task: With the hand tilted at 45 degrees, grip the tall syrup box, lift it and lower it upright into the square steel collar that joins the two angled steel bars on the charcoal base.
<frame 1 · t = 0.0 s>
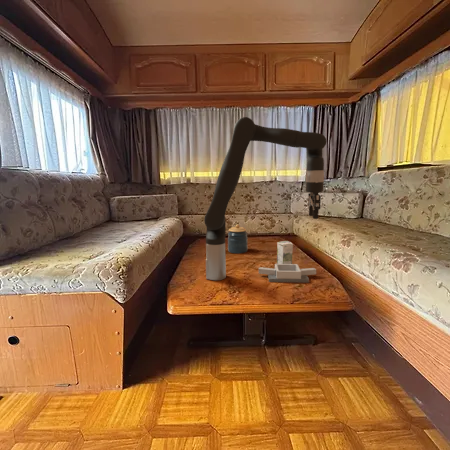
hand: (313, 217, 127), 29 cm above the table, tool pointing down, fingers open, 8 cm apart
syrup box: (284, 269, 146), on the table
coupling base: (287, 277, 134), on the table
canister: (237, 251, 182), on the table
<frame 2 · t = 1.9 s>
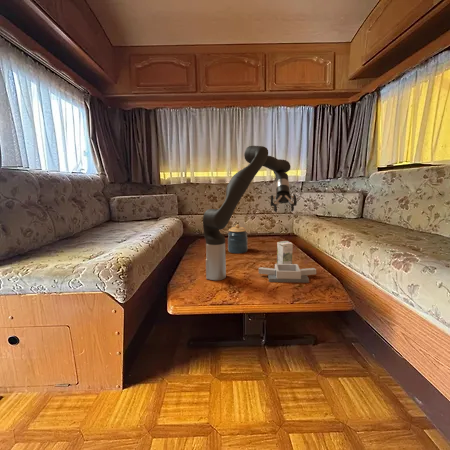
hand: (284, 211, 153), 29 cm above the table, tool tilted 45°, fingers open, 8 cm apart
nothing on the table moved.
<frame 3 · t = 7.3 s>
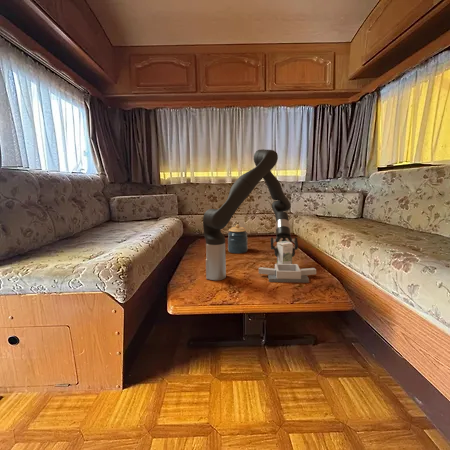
hand: (285, 256, 143), 8 cm above the table, tool tilted 45°, fingers closed on syrup box, 7 cm apart
syrup box: (284, 269, 146), on the table, touching gripper
everything else where it was.
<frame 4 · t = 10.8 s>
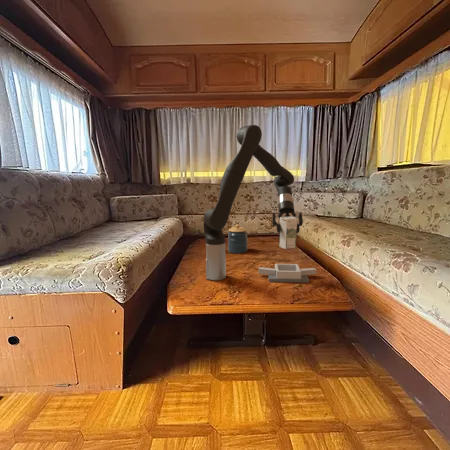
hand: (288, 232, 129), 22 cm above the table, tool tilted 45°, fingers closed on syrup box, 7 cm apart
syrup box: (287, 248, 132), point 14 cm above the table, touching gripper
everything else where it was.
when the fingers open (10 cm above the table, at t = 14.7 s): syrup box drops 1 cm, resting on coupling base.
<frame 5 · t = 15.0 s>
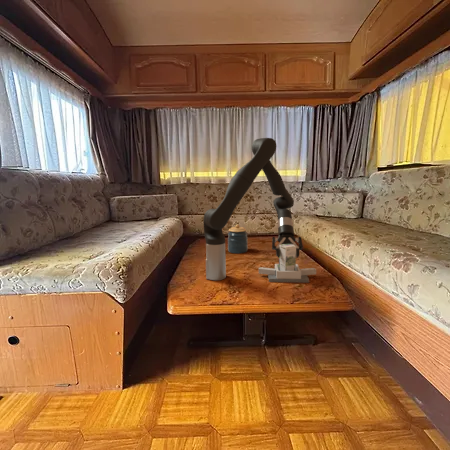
hand: (288, 256, 131), 11 cm above the table, tool tilted 45°, fingers open, 8 cm apart
syrup box: (286, 274, 134), point 1 cm above the table, touching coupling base
everything else where it was.
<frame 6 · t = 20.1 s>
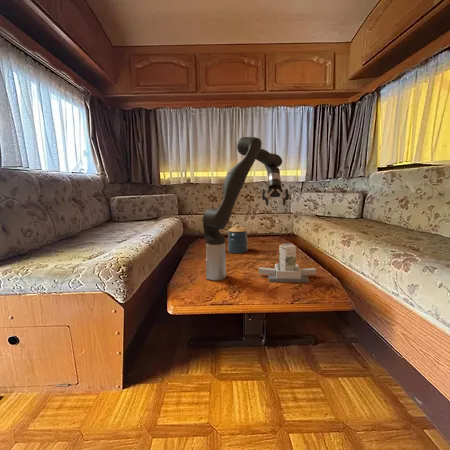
hand: (275, 204, 150), 33 cm above the table, tool tilted 45°, fingers open, 8 cm apart
nothing on the table moved.
at the end: syrup box 0.2 cm off-centre on the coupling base, point 1.3 cm above the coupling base's base; syrup box tilted 0°; the gripper is holding nothing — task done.
